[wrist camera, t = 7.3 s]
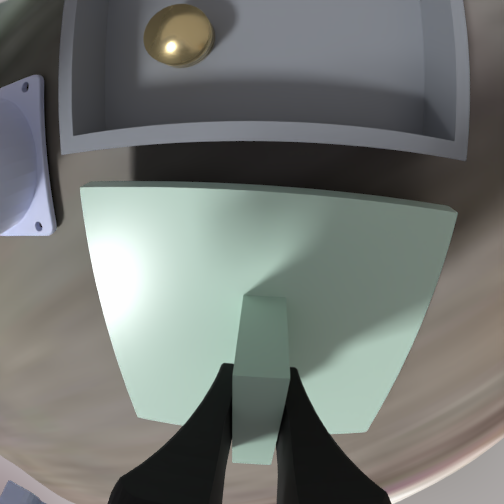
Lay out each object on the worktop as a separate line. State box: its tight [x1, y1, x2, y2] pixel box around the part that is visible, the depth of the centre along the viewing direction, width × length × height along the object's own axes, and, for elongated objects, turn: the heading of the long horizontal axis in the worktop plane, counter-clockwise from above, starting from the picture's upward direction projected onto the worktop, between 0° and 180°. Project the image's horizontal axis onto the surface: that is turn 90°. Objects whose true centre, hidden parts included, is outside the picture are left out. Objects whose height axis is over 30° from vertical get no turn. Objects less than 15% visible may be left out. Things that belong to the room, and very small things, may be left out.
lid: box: [80, 181, 458, 465], centre depth 12 cm, size 14×14×5 cm
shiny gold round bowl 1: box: [143, 4, 215, 68], centre depth 9 cm, size 2×2×1 cm
